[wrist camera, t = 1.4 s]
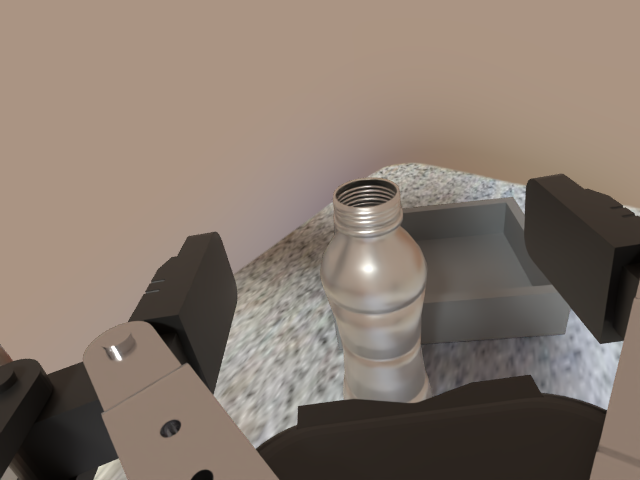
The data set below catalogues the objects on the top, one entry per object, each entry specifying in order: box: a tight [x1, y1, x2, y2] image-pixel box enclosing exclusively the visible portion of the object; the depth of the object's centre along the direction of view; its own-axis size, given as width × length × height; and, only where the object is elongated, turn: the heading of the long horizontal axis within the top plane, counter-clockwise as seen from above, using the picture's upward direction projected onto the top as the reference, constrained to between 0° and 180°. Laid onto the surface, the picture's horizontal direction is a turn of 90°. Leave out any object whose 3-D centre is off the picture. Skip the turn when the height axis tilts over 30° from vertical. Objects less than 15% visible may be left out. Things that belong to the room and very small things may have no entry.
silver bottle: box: [320, 178, 432, 403], centre depth 30 cm, size 6×7×20 cm
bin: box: [332, 197, 571, 350], centre depth 46 cm, size 20×16×5 cm
